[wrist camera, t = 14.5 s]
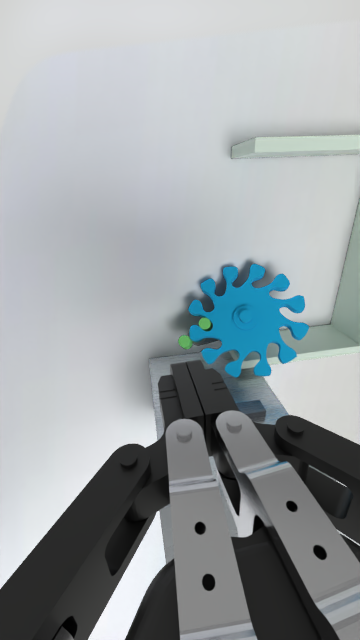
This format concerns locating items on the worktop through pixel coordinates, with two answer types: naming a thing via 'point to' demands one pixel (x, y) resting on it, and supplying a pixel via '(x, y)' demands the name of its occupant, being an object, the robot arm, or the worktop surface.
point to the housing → (249, 399)
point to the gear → (245, 321)
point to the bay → (356, 282)
